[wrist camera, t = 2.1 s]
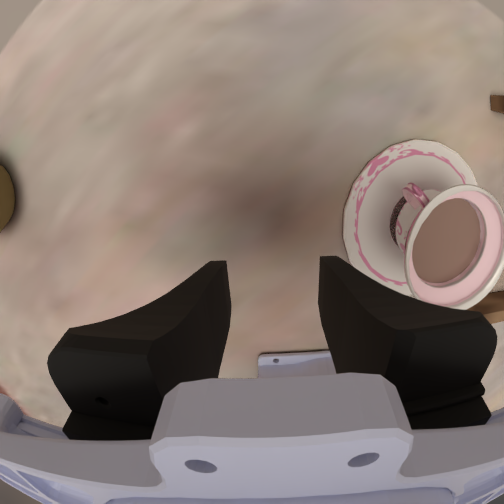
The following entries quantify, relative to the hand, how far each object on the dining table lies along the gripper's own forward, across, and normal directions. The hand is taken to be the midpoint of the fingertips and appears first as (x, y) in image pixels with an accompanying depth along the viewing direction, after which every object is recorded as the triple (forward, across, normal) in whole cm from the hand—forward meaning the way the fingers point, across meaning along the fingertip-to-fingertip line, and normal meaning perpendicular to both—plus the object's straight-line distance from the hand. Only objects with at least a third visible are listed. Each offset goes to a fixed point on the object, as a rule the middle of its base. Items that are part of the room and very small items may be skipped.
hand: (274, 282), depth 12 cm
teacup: (+10, -11, +1) cm, 15 cm away
